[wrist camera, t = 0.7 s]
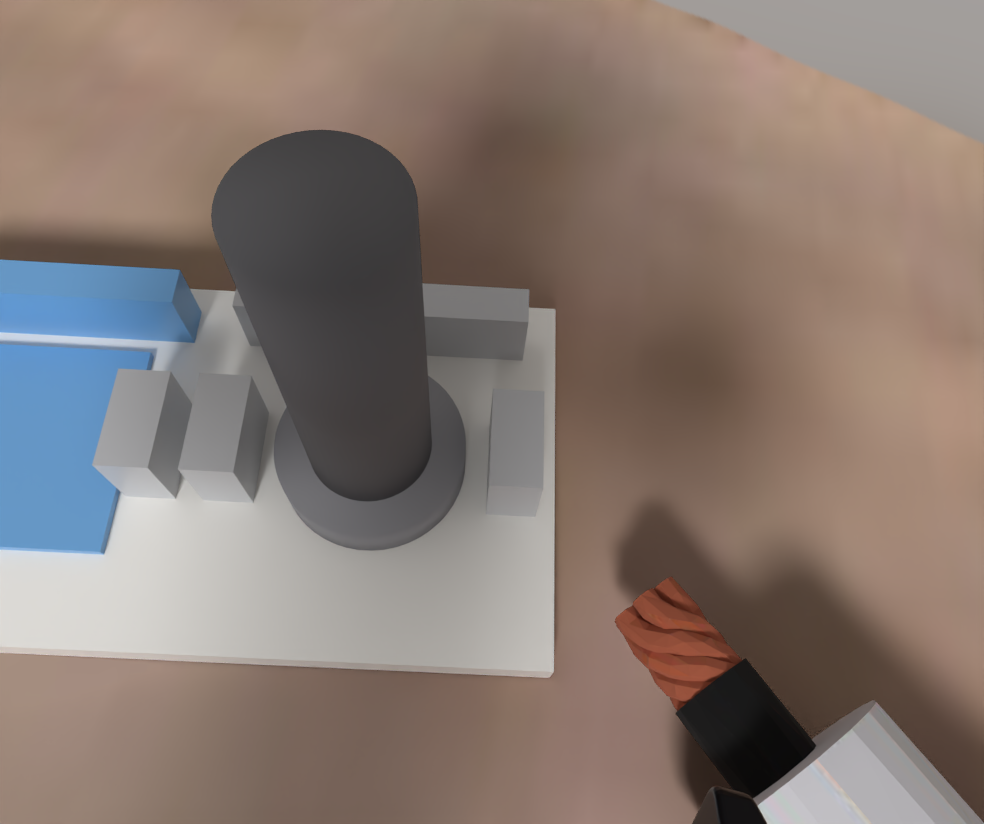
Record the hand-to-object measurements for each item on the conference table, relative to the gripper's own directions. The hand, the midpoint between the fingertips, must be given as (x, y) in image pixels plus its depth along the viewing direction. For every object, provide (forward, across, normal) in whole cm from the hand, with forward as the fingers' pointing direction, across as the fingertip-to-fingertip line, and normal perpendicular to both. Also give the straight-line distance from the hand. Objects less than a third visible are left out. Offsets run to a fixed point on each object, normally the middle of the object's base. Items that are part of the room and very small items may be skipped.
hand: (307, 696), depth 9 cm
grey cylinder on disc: (+14, +3, +7) cm, 16 cm away
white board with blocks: (+14, +8, +8) cm, 19 cm away
